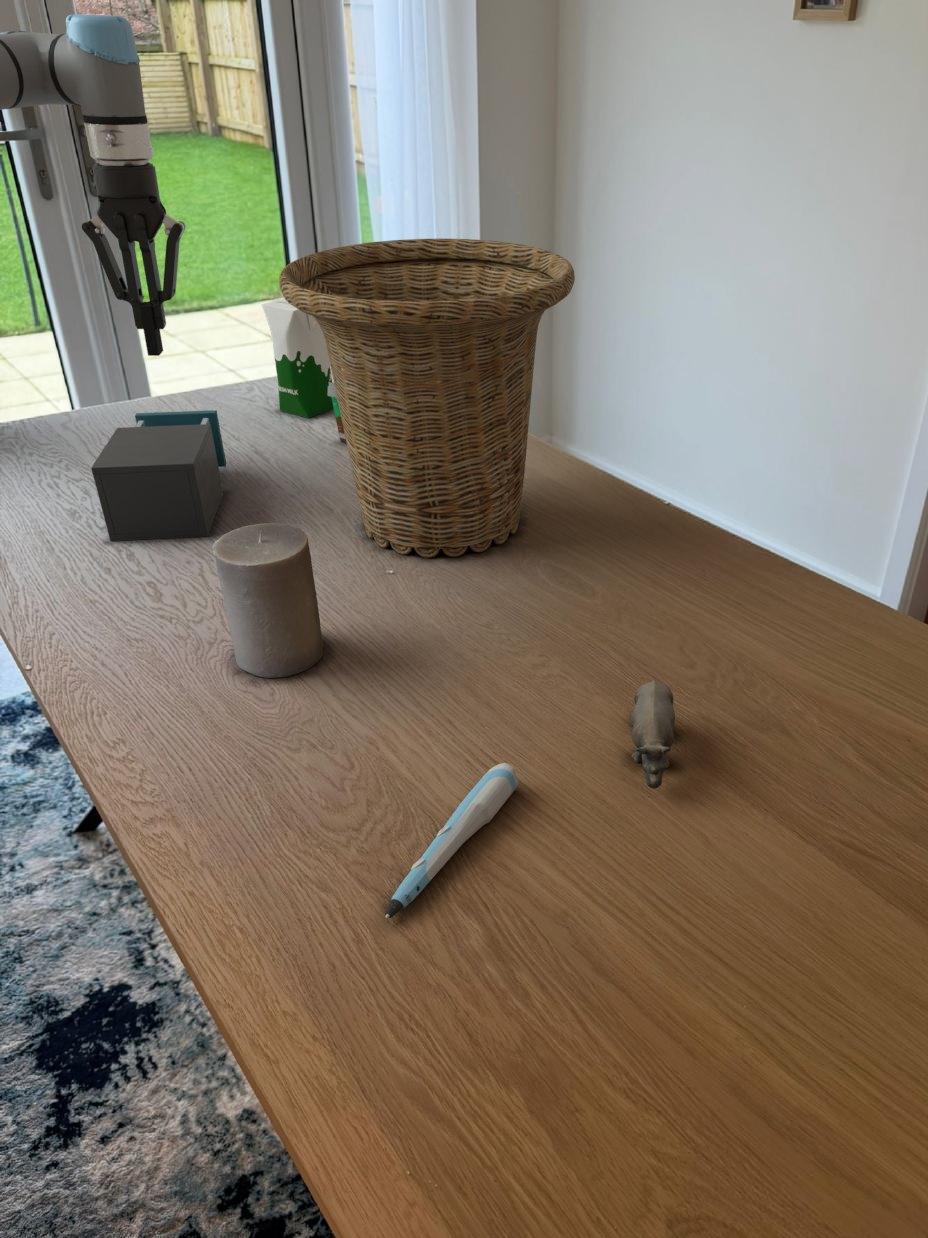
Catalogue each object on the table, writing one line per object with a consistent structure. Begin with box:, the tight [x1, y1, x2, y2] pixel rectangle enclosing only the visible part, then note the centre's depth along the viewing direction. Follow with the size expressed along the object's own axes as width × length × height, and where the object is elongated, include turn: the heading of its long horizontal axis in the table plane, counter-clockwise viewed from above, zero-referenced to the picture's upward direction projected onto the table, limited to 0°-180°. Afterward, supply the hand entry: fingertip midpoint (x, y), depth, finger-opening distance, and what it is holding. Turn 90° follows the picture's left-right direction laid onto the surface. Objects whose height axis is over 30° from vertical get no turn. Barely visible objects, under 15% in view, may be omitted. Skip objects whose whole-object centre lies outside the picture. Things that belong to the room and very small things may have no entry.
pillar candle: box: [212, 522, 325, 679], centre depth 109 cm, size 10×10×15 cm
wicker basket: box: [278, 238, 576, 559], centre depth 131 cm, size 35×35×33 cm
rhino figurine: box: [630, 679, 676, 790], centre depth 95 cm, size 4×14×6 cm, turn 174°
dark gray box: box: [90, 424, 224, 542], centre depth 140 cm, size 15×13×10 cm
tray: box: [134, 409, 227, 468], centre depth 150 cm, size 19×12×8 cm, turn 6°
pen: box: [384, 762, 519, 920], centre depth 86 cm, size 19×3×3 cm, turn 153°
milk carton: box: [261, 297, 334, 419], centre depth 174 cm, size 9×9×20 cm
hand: (155, 352), depth 142 cm, fingers closed
